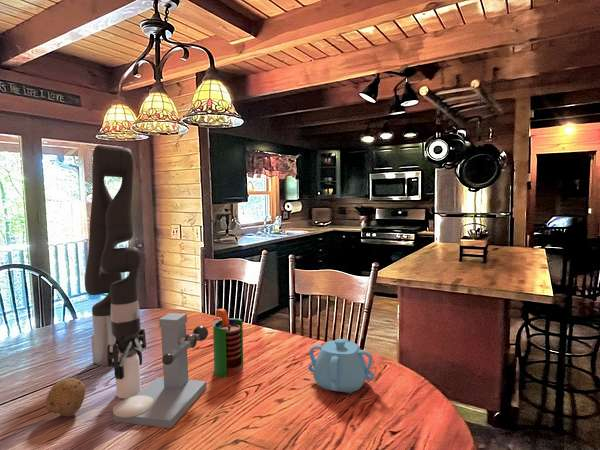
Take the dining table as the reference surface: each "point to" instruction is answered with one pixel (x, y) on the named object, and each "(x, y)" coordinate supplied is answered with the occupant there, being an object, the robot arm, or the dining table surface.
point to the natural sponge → (66, 397)
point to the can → (129, 377)
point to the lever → (186, 344)
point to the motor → (227, 345)
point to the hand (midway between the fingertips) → (129, 371)
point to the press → (164, 384)
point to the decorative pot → (340, 366)
